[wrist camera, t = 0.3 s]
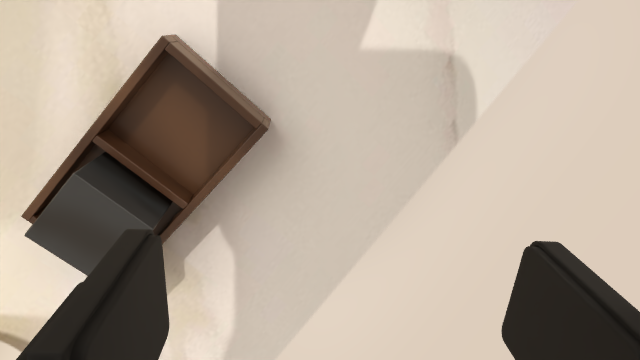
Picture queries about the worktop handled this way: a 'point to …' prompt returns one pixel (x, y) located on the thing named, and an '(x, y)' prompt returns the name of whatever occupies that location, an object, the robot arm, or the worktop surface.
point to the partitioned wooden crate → (146, 157)
